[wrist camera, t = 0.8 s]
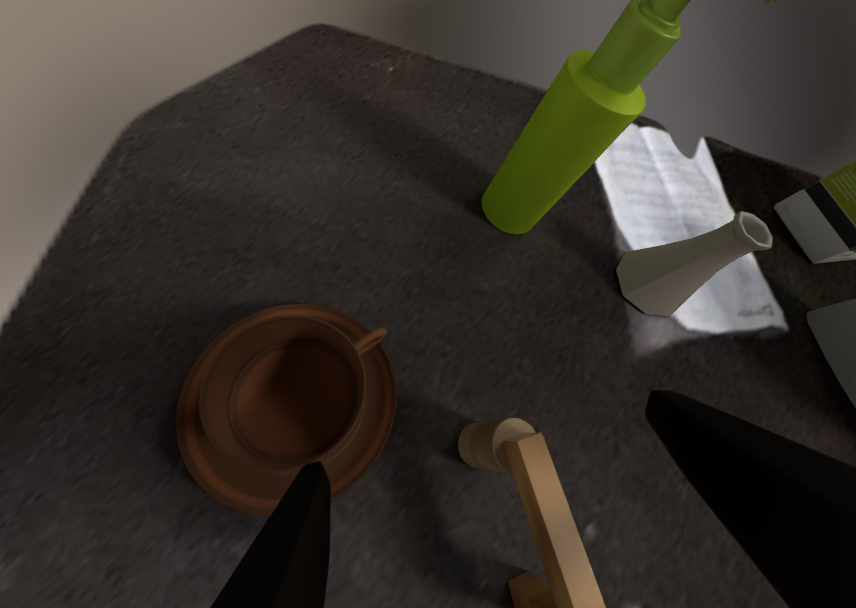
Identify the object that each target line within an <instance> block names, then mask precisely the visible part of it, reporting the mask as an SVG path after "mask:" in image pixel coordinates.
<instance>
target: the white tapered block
mask: <svg viewBox="0 0 856 608" xmlns="http://www.w3.org/2000/svg"><path fill="white" fill-rule="evenodd" d="M806 319H807V322H808V324H809V326H810V328H811V330H812V332H813V334H814V336H815V338H816V340H817V342H818V344H819V346H820V348H821V350H822V352H823V354H824V356H825V358H826V360H827V361H828V363H829V365H830V367H831V368H832V370H833V372H834V374H835V375H836V377H837V379H838V381H839V382H840V384H841V386H842V388H843V389H844V391H845V392H846V394H847V395H848V397H849V399H850V400H851V402H852V403H853V405H854V406H855V408H856V299H853V300H849V301H846V302H842V303H838V304H835V305H831V306H827V307H824V308H820V309H816V310H812V311H809V312H808V313H807V316H806Z"/></svg>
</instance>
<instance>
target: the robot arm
mask: <svg viewBox="0 0 856 608" xmlns="http://www.w3.org/2000/svg"><path fill="white" fill-rule="evenodd" d="M645 416H646V419H647V421H648V422H649V424H650V425H651V427H652V428H653V430H654V431H655V433H656V434H657V436H658V437H659V439H660V440H661V442H662V443H663V445H664V446H665V448H666V449H667V451H668V452H669V454H670V455H671V457H672V458H673V460H674V461H675V463H676V464H677V466H678V467H679V469H680V470H681V472H682V473H683V474H684V476H685V477H686V478H687V480H688V481H689V482H690V483H691V485H692V486H693V487H694V488H695V490H696V491H697V492H698V494H699V495H700V496H701V497H702V499H703V500H704V501H705V502H706V504H707V505H708V506H709V507H710V509H711V510H712V511H713V512H714V514H715V515H716V516H717V517H718V519H719V520H720V521H721V522H722V524H723V525H724V526H725V527H726V529H727V530H728V531H729V532H730V534H731V535H732V536H733V537H734V539H735V540H736V541H737V542H738V544H739V545H740V546H741V547H742V549H743V550H744V551H745V552H746V554H747V555H748V556H749V557H750V559H751V560H752V561H753V562H754V564H755V565H756V566H757V568H758V569H759V570H760V571H761V573H762V574H763V575H764V576H765V578H766V579H767V580H768V581H769V583H770V584H771V585H772V586H773V588H774V589H775V590H776V591H777V593H778V594H779V595H780V596H781V598H782V599H783V600H784V601H785V603H786V604H787V605H788V606H789V608H856V467H854V466H851V465H849V464H847V463H844V462H842V461H839V460H837V459H835V458H832V457H830V456H828V455H825V454H823V453H820V452H818V451H816V450H813V449H811V448H809V447H806V446H804V445H802V444H799V443H797V442H794V441H792V440H790V439H787V438H785V437H783V436H780V435H778V434H775V433H773V432H771V431H768V430H766V429H764V428H761V427H759V426H757V425H754V424H752V423H749V422H747V421H745V420H742V419H740V418H738V417H735V416H733V415H730V414H728V413H726V412H723V411H721V410H719V409H716V408H714V407H712V406H709V405H707V404H704V403H702V402H700V401H697V400H695V399H693V398H690V397H688V396H685V395H683V394H681V393H678V392H676V391H674V390H671V389H668V388H663V389H658V390H654V391H652V392H651V393H650V395H649V399H648V402H647V406H646V410H645ZM330 503H331V487H330V481H329V479H328V476H327V474H326V471H325V469H324V466H323V464H322V463H321V462H320V461H317V462H313V463H308V464H305V465H304V466H303V467H302V468H301V470H300V471H299V473H298V474H297V476H296V477H295V479H294V480H293V482H292V483H291V485H290V486H289V488H288V490H287V491H286V493H285V494H284V496H283V497H282V499H281V500H280V502H279V503H278V505H277V506H276V508H275V509H274V511H273V513H272V514H271V516H270V517H269V519H268V520H267V522H266V523H265V525H264V526H263V528H262V529H261V531H260V532H259V534H258V536H257V537H256V539H255V540H254V542H253V543H252V545H251V546H250V548H249V549H248V551H247V552H246V554H245V555H244V557H243V559H242V560H241V562H240V563H239V565H238V566H237V568H236V569H235V571H234V572H233V574H232V575H231V577H230V578H229V580H228V582H227V583H226V585H225V586H224V588H223V589H222V591H221V592H220V594H219V595H218V597H217V598H216V600H215V601H214V603H213V605H212V606H211V608H324V602H325V593H326V585H327V576H328V567H329V553H330Z"/></svg>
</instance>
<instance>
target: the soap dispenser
mask: <svg viewBox="0 0 856 608" xmlns="http://www.w3.org/2000/svg"><path fill="white" fill-rule="evenodd" d="M689 1H690V0H632V1H631V2H630V3H629V4H628V5H627V7H626V8H625V10H624V11H623V13H622V14H621V16H620V17H619V18H618V20H617V21H616V23H615V24H614V26H613V27H612V29H611V30H610V32H609V33H608V35H607V36H606V37H605V39H604V41H603V42H602V43H601V45H600V47H599V48H598V49H597V51H596V52H594V51H589V50H579V51H576V52H573V53H572V54H571V55H570V56H569V57H568V59H567V61H566V62H565V64H564V65H563V67H562V69H561V70H560V72H559V73H558V75H557V77H556V78H555V80H554V82H553V83H552V85H551V86H550V88H549V90H548V91H547V93H546V94H545V96H544V98H543V99H542V101H541V102H540V104H539V106H538V107H537V109H536V111H535V112H534V114H533V115H532V117H531V119H530V120H529V122H528V123H527V125H526V127H525V128H524V130H523V131H522V133H521V135H520V136H519V138H518V140H517V141H516V143H515V144H514V146H513V148H512V149H511V151H510V152H509V154H508V156H507V157H506V159H505V161H504V162H503V164H502V165H501V167H500V169H499V170H498V172H497V173H496V175H495V177H494V178H493V180H492V182H491V183H490V185H489V186H488V188H487V190H486V191H485V193H484V195H483V197H482V209H483V212H484V214H485V216H486V217H487V219H488V220H489V221H490V222H491V223H492V224H493V225H494V226H495V227H496V228H498V229H500V230H501V231H503V232H506V233H509V234H523V233H526V232H528V231H529V230H530V229H531V228H532V227H533V226H534V225H535V224H536V223H537V222H538V221H539V220H540V219H541V218H542V217H543V216H544V215H545V214H546V213H547V211H548V210H549V209H550V208H551V207H552V206H553V205H554V204H555V203H556V202H557V201H558V200H559V199H560V198H561V197H562V196H563V195H564V193H565V192H566V191H567V190H568V189H569V188H570V187H571V186H572V185H573V184H574V183H575V182H576V181H577V180H578V179H579V178H580V177H581V175H582V174H583V173H584V172H585V171H586V170H587V169H588V168H589V167H590V166H591V165H592V164H593V163H594V162H595V161H596V160H597V159H598V157H599V156H600V155H601V154H602V153H603V152H604V151H605V150H606V149H607V148H608V147H609V146H610V145H611V144H612V143H613V142H614V141H615V139H616V138H617V137H618V136H619V135H620V134H621V133H622V132H623V131H624V130H625V129H626V128H627V127H628V126H629V125H630V124H631V123H632V121H633V120H634V119H635V118H636V117H637V116H638V115H639V114H640V113H641V112H642V111H643V110H644V107H645V105H646V98H645V95H644V92H643V90H642V88H641V86H640V83H641V82H642V81H643V80H644V79H645V77H646V76H647V75H648V74H649V73H650V72H651V70H652V69H653V68H654V67H655V66H656V65H657V64H658V62H659V61H660V60H661V59H662V58H663V57H664V55H665V54H666V53H667V52H668V51H669V50H670V49H671V47H672V46H673V45H674V44H675V43H676V42H677V40H678V39H679V38H680V36H681V28H680V25H679V24H680V18H679V16H678V15H679V14H680V13H681V11H682V10H683V9H684V7H685V6H686V5H687V4H688V3H689ZM765 1H766V2H772V1H776V0H765Z"/></svg>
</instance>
